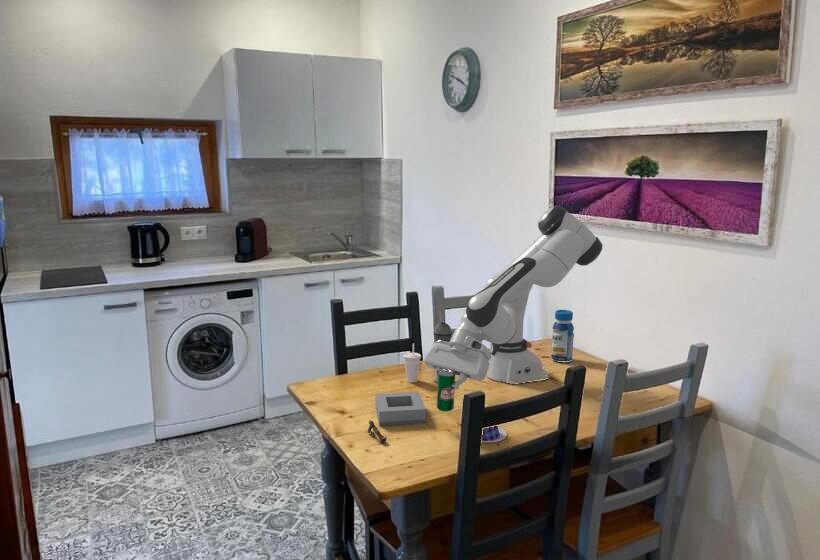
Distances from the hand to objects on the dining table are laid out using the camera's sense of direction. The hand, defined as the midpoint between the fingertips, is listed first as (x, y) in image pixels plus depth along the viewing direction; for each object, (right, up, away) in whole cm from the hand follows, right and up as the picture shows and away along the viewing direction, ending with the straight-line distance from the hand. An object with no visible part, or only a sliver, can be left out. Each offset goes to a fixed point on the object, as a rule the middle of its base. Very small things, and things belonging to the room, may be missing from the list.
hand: (445, 385), depth 176 cm
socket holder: (-14, -11, +12) cm, 21 cm away
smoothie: (-10, -6, +41) cm, 42 cm away
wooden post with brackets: (-20, -15, -4) cm, 25 cm away
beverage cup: (+3, -1, +62) cm, 62 cm away
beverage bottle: (+50, -1, +63) cm, 80 cm away
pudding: (+12, -14, -2) cm, 19 cm away
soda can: (0, -7, +2) cm, 8 cm away
